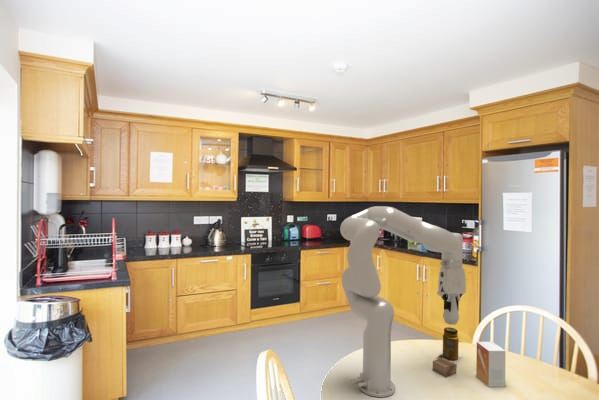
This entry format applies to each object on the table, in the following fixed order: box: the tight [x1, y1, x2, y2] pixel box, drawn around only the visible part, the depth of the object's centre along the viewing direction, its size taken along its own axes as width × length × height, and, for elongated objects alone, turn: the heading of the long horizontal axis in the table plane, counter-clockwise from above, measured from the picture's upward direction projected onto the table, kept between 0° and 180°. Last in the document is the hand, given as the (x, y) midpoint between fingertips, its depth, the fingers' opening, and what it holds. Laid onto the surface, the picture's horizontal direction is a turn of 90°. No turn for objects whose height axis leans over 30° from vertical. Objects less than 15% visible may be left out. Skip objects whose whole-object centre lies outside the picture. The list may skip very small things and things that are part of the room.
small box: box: [475, 341, 506, 388], centre depth 126 cm, size 8×6×13 cm
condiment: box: [436, 326, 463, 364], centre depth 145 cm, size 7×8×12 cm
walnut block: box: [432, 358, 457, 378], centre depth 133 cm, size 6×6×4 cm
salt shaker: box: [442, 294, 460, 326], centre depth 136 cm, size 6×6×13 cm
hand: (451, 310), depth 136 cm, fingers closed on salt shaker, 3 cm apart
